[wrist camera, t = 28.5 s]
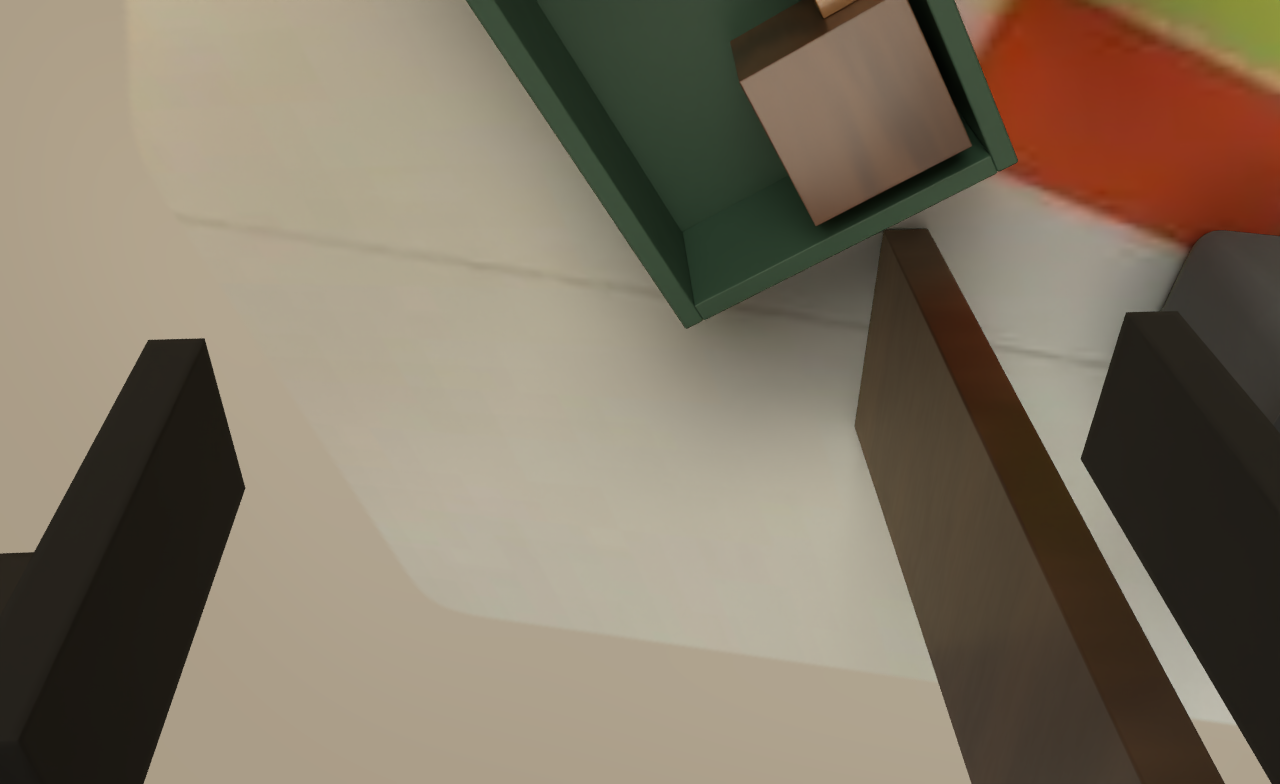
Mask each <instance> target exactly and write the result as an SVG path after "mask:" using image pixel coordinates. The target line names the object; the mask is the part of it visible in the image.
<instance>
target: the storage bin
mask: <svg viewBox="0 0 1280 784" xmlns="http://www.w3.org/2000/svg"><path fill="white" fill-rule="evenodd" d="M1162 311H1178V312H1179V313H1180V315H1181V316H1182V317H1183V318H1184V319H1185V321H1186V322H1187V323H1188V324H1189V325H1190V327H1191V328H1192V329H1193V330H1194V331H1195V332H1196V334H1197V335H1198V336H1199V337H1200V338H1201V340H1202V341H1203V342H1204V343H1205V344H1206V346H1207V347H1208V348H1209V349H1210V350H1211V352H1212V353H1213V354H1214V355H1215V356H1216V358H1217V359H1218V360H1219V361H1220V362H1221V363H1222V365H1223V366H1224V367H1225V368H1226V369H1227V371H1228V372H1229V373H1230V374H1231V375H1232V377H1233V378H1234V379H1235V380H1236V381H1237V383H1238V384H1239V385H1240V386H1241V387H1242V389H1243V390H1244V391H1245V392H1246V393H1247V395H1248V396H1249V397H1250V398H1251V399H1252V400H1253V402H1254V403H1255V404H1256V405H1257V406H1258V408H1259V409H1260V410H1261V411H1262V412H1263V414H1264V415H1265V416H1266V417H1267V418H1268V420H1269V421H1270V422H1271V423H1272V424H1273V426H1274V427H1275V428H1276V429H1277V430H1278V431H1279V433H1280V236H1273V235H1264V234H1254V233H1245V232H1236V231H1226V230H1218V231H1212V232H1209V233H1207V234H1205V235H1203V236H1202V237H1201V238H1200V239H1199V240H1197V242H1196V243H1195V244H1194V245H1193V247H1192V249H1191V251H1190V252H1189V254H1188V257H1187V259H1186V261H1185V263H1184V265H1183V267H1182V269H1181V271H1180V273H1179V275H1178V277H1177V279H1176V281H1175V283H1174V286H1173V288H1172V290H1171V292H1170V294H1169V296H1168V298H1167V300H1166V302H1165V305H1164V307H1163V309H1162ZM1162 311H1161V312H1162Z"/></svg>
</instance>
